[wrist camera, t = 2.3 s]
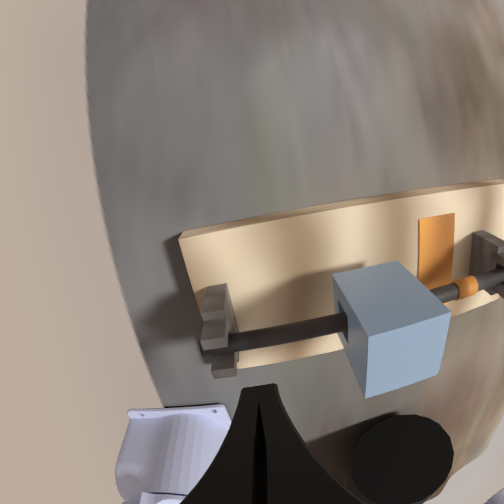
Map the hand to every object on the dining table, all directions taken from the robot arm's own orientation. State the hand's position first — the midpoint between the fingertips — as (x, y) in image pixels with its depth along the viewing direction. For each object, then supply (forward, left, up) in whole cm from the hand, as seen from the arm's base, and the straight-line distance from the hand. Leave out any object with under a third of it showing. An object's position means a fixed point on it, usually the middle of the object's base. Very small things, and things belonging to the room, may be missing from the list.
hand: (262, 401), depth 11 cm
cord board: (+8, 0, -9) cm, 13 cm away
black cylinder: (+11, -34, -10) cm, 37 cm away
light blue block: (+6, 0, -6) cm, 9 cm away
